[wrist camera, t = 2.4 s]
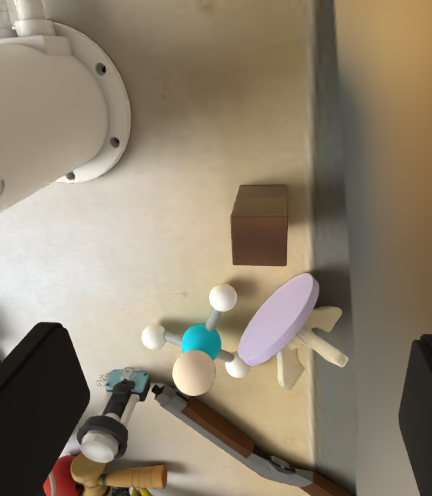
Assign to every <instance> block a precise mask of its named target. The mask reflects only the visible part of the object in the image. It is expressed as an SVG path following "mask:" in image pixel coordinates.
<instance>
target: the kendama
mask: <svg viewBox="0 0 432 496" xmlns="http://www.w3.org/2000/svg"><path fill="white" fill-rule="evenodd" d="M105 466H106V463H99V462H96V461H92V460H91V459H89V458H87V457H86V456H85V455H84V454H83V453H80V454H79V455H78V456H77V457H76V456H64V457H61V458H59V459H58V460H57V461H56V463H55V465H54V467H53V469H52V473H53V477H54V481H55V485H56V496H78V495H79V494H81V495H80V496H111V492H112V487H111V486H116V487H130V488H134V487H135V488H157V489H164V488H165V486H166V482H167V469H166V465H165V464H164V465H157V466H150V467H143V468H136V469H135V468H133V469H125V470H119V471H114V472H110V473H105V474H101V473H102V472H103V471H104V469H105ZM43 487H44V491H45V494H46V495H47V496H51V483H50V478H49V476H48V478H47V479H46V481H45V483H44V485H43Z"/></svg>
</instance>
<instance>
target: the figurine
mask: <svg viewBox="0 0 432 496" xmlns="http://www.w3.org/2000/svg"><path fill="white" fill-rule="evenodd" d="M139 490H140V492H141V495H142V496H153V495H152V494H151V493H150V492H149V491H148V490H147V488H139ZM129 492H130V495H131V496H138V494H137V491H136V488H135V487H134V488H130V489H129Z"/></svg>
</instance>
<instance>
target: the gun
mask: <svg viewBox="0 0 432 496" xmlns="http://www.w3.org/2000/svg"><path fill="white" fill-rule="evenodd" d="M152 392H153V393H154V394H156V395H155V398H154V399H155V400H157V401H158V402H159V403H161V404H160V406H162V407H163V408H165V409H166V410H167V411H169V412H170V413H172V414H173V415H175V416H176V417H177V418H179V419H180V420H182V421H183V422H185V423H186V424H187V425H189V426H190V427H192V428H193V429H194V430H196V431H197V432H199V433H200V434H202V435H203V436H204V437H206V438H207V439H209V440H210V441H212V442H213V443H214V444H216V445H217V446H219V447H220V448H221V449H223V450H224V451H226V452H227V453H229V454H230V455H231V456H233V457H234V458H236V459H237V460H239V461H240V462H241V463H243V464H244V465H246V466H247V467H248V468H250V469H251V470H253V471H254V472H256V473H257V474H258V475H260V476H261V477H264V478H266V479H269V480H272V481H276V482H280V483H284V484H289V485H293V486H297V487H300V488H301V489H302V490H304V491H305V492H307V493H308V494H309V495H311V496H352V495H351V494H350V493H348V492H347V491H346V490H344V489H343V488H341V487H340V486H338V485H336V484H335V483H333V482H331V481H329V480H327V479H326V478H324V477H322V476H320V475H318V474H316V473H315V472H313V471H306V470H300V469H295V468H293V467H292V466H291V465H289V464H288V463H287V462H285V461H283V460H281V459H279V458H277V457H275V456H267V455H266V454H265V453H264V452H263V451H262V450H261V449H260V448H259V447H258V446H257V445H256V444H255V443H253V442H252V441H251V440H250V439H248V438H247V437H246V436H245V435H244V434H243V433H241V432H240V431H239V430H238V429H236V428H235V427H234V426H232V425H231V424H230V423H228V422H227V421H225V420H224V419H223V418H221V417H220V416H219V415H217V414H216V413H214V412H213V411H212V410H210V409H209V408H208V407H206V406H204V405H203V404H201V403H200V402H198V401H196V400H195V399H193V398H191V397H190V396H189V395H187V394H185V393H183V392H181V391H180V390H179V389H178V388H171V387H170V386H168V385H167V384H166V385H164V386H163V387H161V388H160V387H158V386H157V385H155V386H154V387H153V388H152Z"/></svg>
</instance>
